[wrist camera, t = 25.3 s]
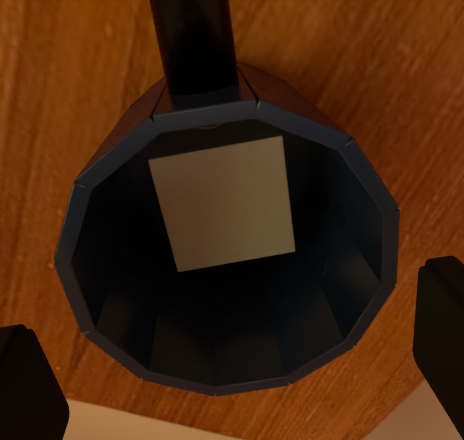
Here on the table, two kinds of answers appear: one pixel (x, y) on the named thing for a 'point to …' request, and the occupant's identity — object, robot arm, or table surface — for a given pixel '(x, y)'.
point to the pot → (237, 273)
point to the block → (223, 193)
